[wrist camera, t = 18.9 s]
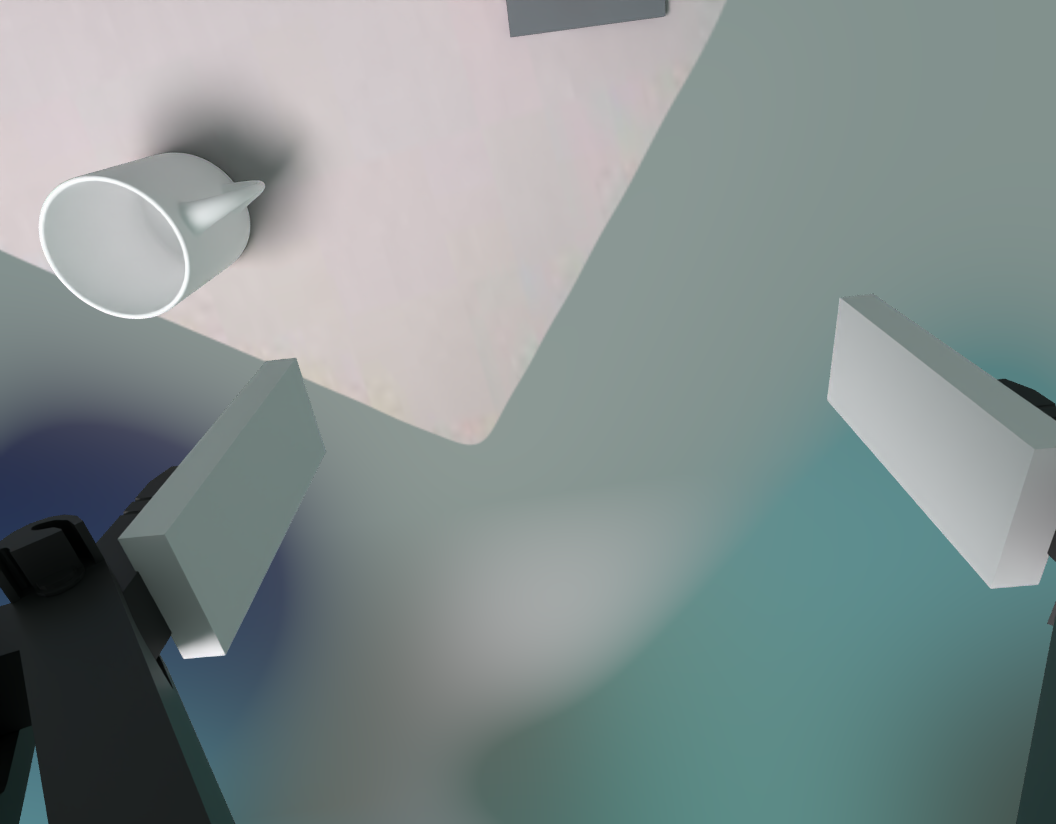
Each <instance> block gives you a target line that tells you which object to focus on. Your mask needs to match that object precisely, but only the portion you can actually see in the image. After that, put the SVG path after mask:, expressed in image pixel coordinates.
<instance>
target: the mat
mask: <svg viewBox="0 0 1056 824" xmlns="http://www.w3.org/2000/svg"><path fill="white" fill-rule="evenodd" d="M506 2H507V11H508V20H509V28H510V37H517V36H524V35H531V34H539V33H546V32H553V31H561V30H568V29H576V28H583V27H590V26H598V25H605V24H612V23H620V22H627V21H635V20H642V19H649V18H657V17H664V16H665V0H506Z"/></svg>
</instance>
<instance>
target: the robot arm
mask: <svg viewBox="0 0 1056 824" xmlns="http://www.w3.org/2000/svg"><path fill="white" fill-rule="evenodd" d="M827 400H828V401H829V403H830V404H831V405H832V406H833V407H834V409H836V411H837V412H838V413H839V414H840V415H841V417H842V418H843V419H844V420H845V421H846V422H847V424H848V425H849V426H850V427H851V428H852V429H853V430H854V432H855V433H856V434H857V435H858V436H859V437H860V438H861V440H862V441H863V442H864V443H865V444H866V445H867V447H869V449H870V450H871V451H872V452H873V453H874V455H875V456H876V457H877V458H878V459H879V460H880V462H881V463H882V464H883V465H884V466H885V467H886V468H887V470H888V471H889V472H890V473H891V474H892V475H893V477H894V478H895V479H896V480H897V481H898V482H899V483H900V485H901V486H902V487H903V488H904V489H905V490H906V491H907V493H908V494H909V495H910V496H911V497H912V498H913V500H914V501H915V502H916V503H917V504H918V505H919V506H920V508H921V509H922V510H923V511H924V512H925V513H926V515H927V516H928V517H929V518H930V519H931V520H932V521H933V523H934V524H935V525H936V526H937V527H938V528H939V529H940V531H941V532H942V533H943V534H944V535H945V536H946V538H948V540H949V541H950V542H951V543H952V545H953V546H954V547H955V548H956V549H957V550H958V551H959V553H960V554H961V555H962V556H963V557H964V558H965V560H966V561H967V562H968V563H969V564H970V565H971V566H972V568H973V569H974V570H975V571H976V572H977V573H978V574H979V576H980V577H981V578H982V579H983V580H984V581H985V582H986V584H987V585H988V586H989V587H990V588H1003V587H1015V586H1027V585H1038V584H1039V581H1040V579H1041V576H1042V573H1043V571H1044V568H1045V565H1046V562H1047V560H1048V557H1049V556H1050V557H1051V558H1052V559H1053V560H1055V561H1056V406H1055V403H1053V402H1052V401H1050V400H1049V399H1047V398H1046V397H1044V396H1043V395H1041V394H1040V393H1038V392H1037V391H1035V390H1033V389H1031V388H1028V387H1025V386H1023V385H1020V384H1017V383H1015V382H1012V381H1009V380H1007V379H999V380H997V379H995V378H994V377H992V376H991V375H989V374H988V373H986V372H985V371H983V370H982V369H981V368H979V367H978V366H976V365H975V364H974V363H972V362H971V361H969V360H968V359H966V358H965V357H963V356H962V355H961V354H959V353H958V352H956V351H955V350H953V349H952V348H951V347H949V346H948V345H946V344H945V343H943V342H942V341H940V340H939V339H938V338H936V337H935V336H933V335H931V334H930V333H929V332H928V331H926V330H925V329H923V328H922V327H920V326H919V325H917V324H916V323H915V322H913V321H912V320H910V319H909V318H907V317H906V316H904V315H903V314H902V313H900V312H899V311H897V310H896V309H894V308H893V307H892V306H890V305H888V304H887V303H886V302H884V301H883V300H881V299H880V298H879V297H877V296H876V295H874V294H866V295H857V296H849V297H840V300H839V308H838V316H837V324H836V332H835V341H834V349H833V357H832V365H831V373H830V381H829V389H828V397H827ZM325 453H326V450H325V446H324V443H323V440H322V437H321V434H320V431H319V428H318V425H317V421H316V418H315V415H314V412H313V409H312V406H311V403H310V400H309V397H308V393H307V391H306V387H305V384H304V381H303V378H302V375H301V372H300V368H299V365H298V362H297V359H296V358H290V359H281V360H272V361H266V362H265V363H264V364H263V365H262V366H261V368H260V369H259V370H258V371H257V372H256V374H255V375H254V376H253V377H252V378H251V380H250V381H249V382H248V383H247V385H246V386H245V387H244V388H243V389H242V390H241V392H240V393H239V394H238V395H237V396H236V398H235V399H234V400H233V401H232V402H231V404H230V405H229V406H228V407H227V408H226V410H225V411H224V412H223V413H222V414H221V416H220V417H219V418H218V419H217V421H216V422H215V423H214V424H213V425H212V426H211V428H210V429H209V430H208V431H207V432H206V434H205V435H204V436H203V437H202V438H201V440H200V441H199V442H198V443H197V444H196V446H195V447H194V448H193V449H192V450H191V452H190V453H189V454H188V455H187V456H186V458H185V459H184V460H183V461H182V462H181V464H180V465H179V466H173V467H170V468H169V469H168V470H166V471H165V472H163V473H162V474H160V475H159V476H157V477H156V478H155V479H153V480H152V481H150V482H149V483H148V484H147V486H146V487H145V488H144V489H143V490H142V491H141V492H140V494H139V495H138V496H137V497H136V498H135V502H132V503H131V504H130V505H129V506H128V507H127V508H126V510H125V511H124V515H122V516H119V518H118V519H117V520H116V521H115V522H114V524H113V525H112V526H111V527H110V528H109V529H108V530H107V531H106V533H105V534H104V535H103V536H102V537H101V538H100V540H99V541H98V542H97V543H95V541H94V540H93V538H92V536H91V535H90V533H89V531H88V529H87V527H86V526H85V524H84V522H83V521H82V520H81V519H80V518H79V517H78V516H72V515H60V516H53V517H48V518H45V519H43V520H39V521H36V522H33V523H30V524H29V525H26V526H24V527H22V528H21V529H19V530H16V531H14V532H13V533H11V534H10V535H8V536H7V537H5V538H4V539H3V540H1V541H0V588H1V589H2V590H3V592H4V593H5V595H6V596H7V597H8V599H9V600H10V602H11V603H10V604H7V605H3V606H0V824H19V821H20V816H21V811H22V806H23V802H24V797H25V791H26V787H27V782H28V777H29V772H30V768H31V763H32V758H33V753H34V748H35V746H36V751H37V757H38V764H39V770H40V775H41V782H42V787H43V793H44V799H45V805H46V811H47V817H48V823H49V824H235V822H234V820H233V817H232V815H231V813H230V811H229V808H228V806H227V804H226V801H225V799H224V797H223V795H222V792H221V790H220V788H219V785H218V783H217V781H216V779H215V776H214V774H213V772H212V769H211V767H210V765H209V762H208V760H207V758H206V756H205V753H204V751H203V749H202V747H201V744H200V742H199V739H198V737H197V735H196V733H195V730H194V728H193V726H192V724H191V721H190V719H189V717H188V714H187V712H186V710H185V707H184V705H183V703H182V701H181V698H180V696H179V694H178V691H177V689H176V687H175V684H174V682H173V680H172V678H171V675H170V673H169V671H168V668H167V666H166V665H165V663H164V661H163V659H162V658H161V656H160V652H161V651H162V649H163V647H164V645H165V644H166V643H167V641H168V639H169V638H170V636H172V638H173V640H174V642H175V644H176V645H177V647H178V649H179V651H180V653H181V655H182V656H183V658H184V659H186V658H197V657H209V656H221V655H226V653H227V651H228V649H229V647H230V645H231V643H232V641H233V639H234V637H235V635H236V633H237V631H238V629H239V627H240V625H241V623H242V621H243V619H244V617H245V615H246V613H247V611H248V609H249V607H250V605H251V602H252V600H253V599H254V596H255V595H256V592H257V590H258V588H259V586H260V584H261V582H262V580H263V578H264V576H265V574H266V572H267V570H268V568H269V566H270V564H271V562H272V560H273V558H274V556H275V554H276V552H277V550H278V548H279V546H280V544H281V542H282V540H283V538H284V536H285V534H286V532H287V530H288V528H289V526H290V524H291V522H292V520H293V518H294V516H295V514H296V511H297V510H298V508H299V505H300V504H301V501H302V499H303V498H304V495H305V493H306V491H307V489H308V487H309V485H310V483H311V481H312V479H313V477H314V475H315V473H316V471H317V469H318V467H319V465H320V463H321V461H322V459H323V457H324V455H325ZM1047 624H1050V625H1053V632H1052V637H1051V642H1050V647H1049V653H1048V657H1047V663H1046V668H1045V673H1044V679H1043V684H1042V689H1041V694H1040V700H1039V705H1038V710H1037V715H1036V720H1035V726H1034V731H1033V736H1032V742H1031V747H1030V753H1029V757H1028V763H1027V768H1026V773H1025V778H1024V784H1023V789H1022V794H1021V800H1020V805H1019V810H1018V815H1017V821H1016V824H1056V602H1055V605H1054V608H1053V610H1052V613H1051V615H1050V618H1049V620H1048V623H1047Z"/></svg>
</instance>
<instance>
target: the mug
mask: <svg viewBox="0 0 1056 824" xmlns="http://www.w3.org/2000/svg"><path fill="white" fill-rule="evenodd" d="M264 189H265V184H264V183H263V182H262V181H259V180H251V181H243V182H236V183H234V182H233V181H232V180H231V179H230V178H229V176H228V175H227V174H226V173H224V172H223V171H222V170H221V169H220V168H218V167H217V166H215V165H214V164H212V163H211V162H209V161H207V160H205V159H203V158H200V157H198V156H195V155H191V154H186V153H177V152H174V153H163V154H157V155H153V156H150V157H146V158H143V159H139V160H135V161H132V162H128V163H125V164H121V165H118V166H114V167H110V168H107V169H103V170H100V171H96V172H93V173H89V174H86V175H82V176H78V177H75V178H72V179H69V180H67V181H65V182H63V183H61V184H60V185H58V186H57V187H56V188H55V189H53V191H52V192H51V193H50V194H49V195H48V197H47V198H46V200H45V202H44V204H43V206H42V209H41V212H40V217H39V236H40V241H41V245H42V249H43V251H44V254H45V257H46V259H47V261H48V263H49V264H50V266H51V268H52V269H53V271H54V272H55V274H56V275H57V277H58V278H59V279H60V280H61V282H62V283H63V284H64V285H65V286H66V287H67V288H68V289H69V290H70V291H71V292H72V293H74V294H75V295H76V296H77V297H78V298H80V299H81V300H83V301H84V302H85V303H87V304H89V305H90V306H92V307H94V308H96V309H98V310H100V311H103V312H105V313H107V314H111V315H114V316H118V317H123V318H130V319H144V318H150V317H154V316H158V315H161V314H163V313H165V312H167V311H168V310H170V309H171V308H173V307H174V306H175V305H177V304H178V303H179V302H181V301H182V300H184V299H185V298H186V297H188V296H189V295H190V294H192V293H193V292H195V291H196V290H197V289H199V288H200V287H201V286H203V285H204V284H206V283H207V282H208V281H210V280H211V279H212V278H214V277H215V276H217V275H218V274H219V273H221V272H222V271H223V270H225V269H226V268H228V267H229V266H230V265H231V264H233V263H234V262H235V261H236V260H237V259H238V258H239V256H240V255H241V254H242V252H243V251H244V249H245V247H246V245H247V242H248V239H249V235H250V216H249V212H248V208H247V206H248V205H249V204H250V203H251V202H252V201H253V200H255V199H256V198H257V197H258V196H259V195H260V194H261V193H262V192H263V191H264Z"/></svg>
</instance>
